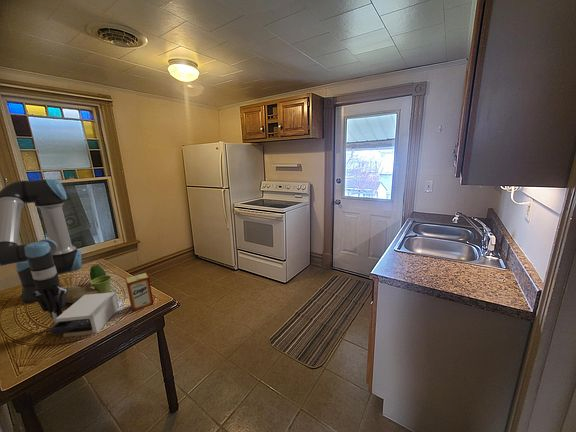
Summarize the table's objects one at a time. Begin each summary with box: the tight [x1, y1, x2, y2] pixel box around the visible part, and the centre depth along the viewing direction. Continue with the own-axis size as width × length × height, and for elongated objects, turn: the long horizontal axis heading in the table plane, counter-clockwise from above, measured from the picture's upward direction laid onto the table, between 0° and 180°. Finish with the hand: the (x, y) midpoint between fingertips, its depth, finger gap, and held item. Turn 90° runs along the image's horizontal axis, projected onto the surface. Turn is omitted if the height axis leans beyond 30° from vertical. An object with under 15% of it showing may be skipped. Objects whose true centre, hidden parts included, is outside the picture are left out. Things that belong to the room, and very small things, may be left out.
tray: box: [49, 319, 93, 336], centre depth 113 cm, size 16×12×3 cm
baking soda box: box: [125, 272, 155, 312], centre depth 125 cm, size 10×6×16 cm
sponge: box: [66, 286, 99, 304], centre depth 132 cm, size 13×8×20 cm
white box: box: [56, 291, 120, 338], centre depth 113 cm, size 14×19×9 cm
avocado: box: [89, 264, 107, 281], centre depth 149 cm, size 8×8×12 cm
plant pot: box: [90, 275, 112, 294], centre depth 137 cm, size 9×9×9 cm
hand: (59, 323), depth 111 cm, fingers closed
